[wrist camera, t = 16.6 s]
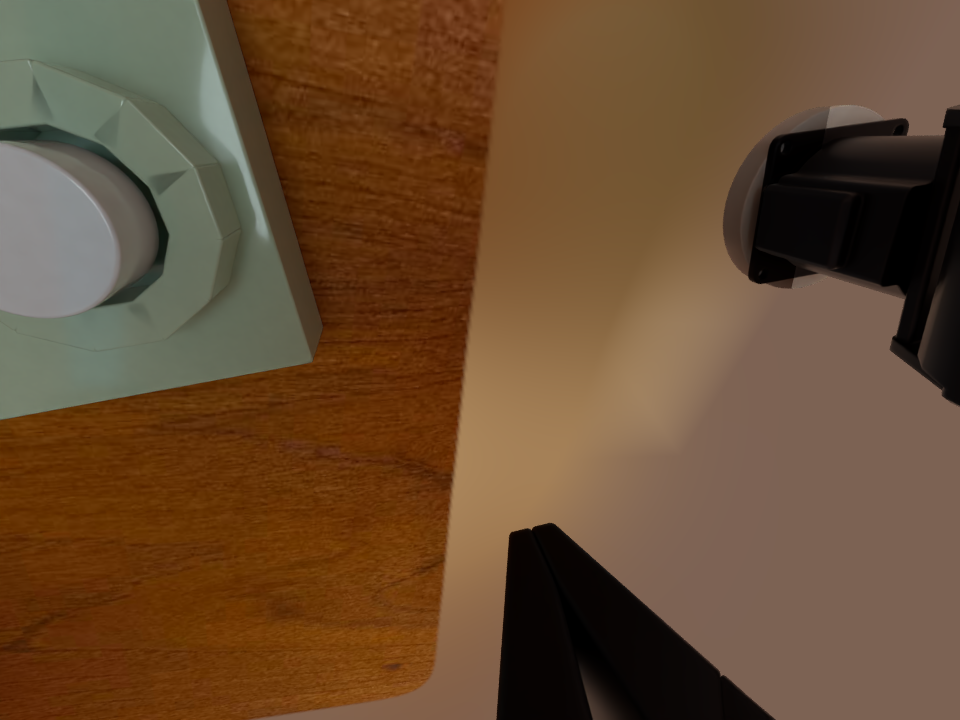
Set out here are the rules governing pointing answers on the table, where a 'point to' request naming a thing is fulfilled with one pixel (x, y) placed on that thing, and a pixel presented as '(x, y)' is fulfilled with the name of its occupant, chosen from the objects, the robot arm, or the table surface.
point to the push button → (68, 229)
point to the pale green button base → (156, 201)
